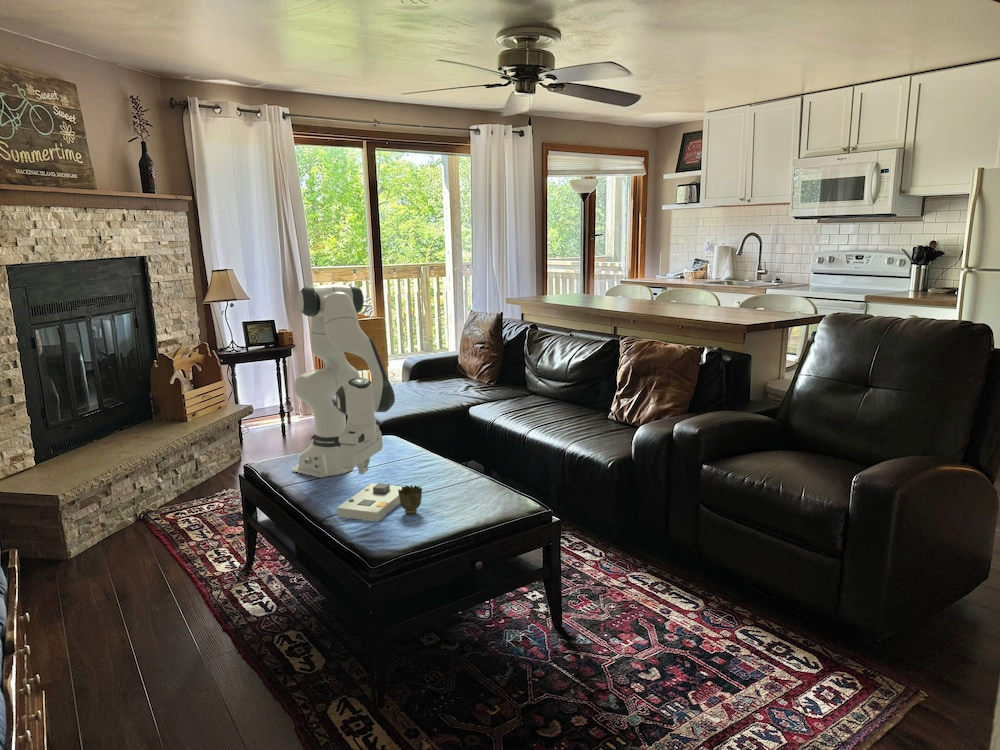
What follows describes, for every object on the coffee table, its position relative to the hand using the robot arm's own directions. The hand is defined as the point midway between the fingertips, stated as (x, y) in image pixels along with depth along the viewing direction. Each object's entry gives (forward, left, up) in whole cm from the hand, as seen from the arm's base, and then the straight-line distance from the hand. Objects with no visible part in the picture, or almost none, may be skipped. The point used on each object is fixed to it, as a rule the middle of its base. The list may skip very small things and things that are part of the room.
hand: (363, 472), depth 207 cm
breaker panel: (+1, +5, -13) cm, 14 cm away
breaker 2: (+1, +10, -11) cm, 15 cm away
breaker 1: (+1, 0, -13) cm, 13 cm away
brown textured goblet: (+15, +3, -13) cm, 20 cm away
